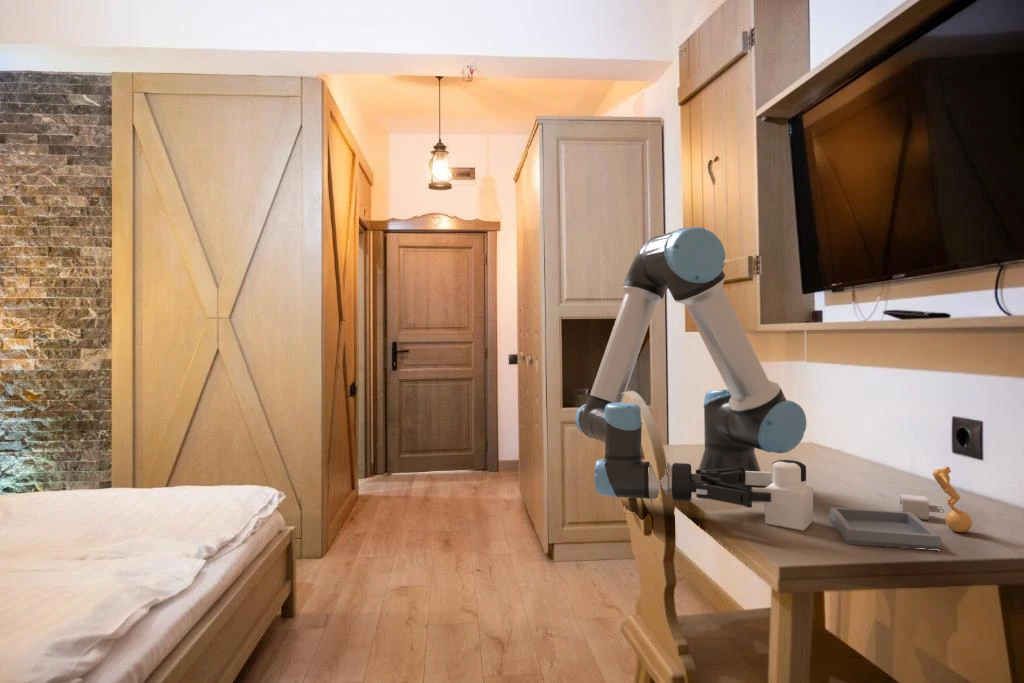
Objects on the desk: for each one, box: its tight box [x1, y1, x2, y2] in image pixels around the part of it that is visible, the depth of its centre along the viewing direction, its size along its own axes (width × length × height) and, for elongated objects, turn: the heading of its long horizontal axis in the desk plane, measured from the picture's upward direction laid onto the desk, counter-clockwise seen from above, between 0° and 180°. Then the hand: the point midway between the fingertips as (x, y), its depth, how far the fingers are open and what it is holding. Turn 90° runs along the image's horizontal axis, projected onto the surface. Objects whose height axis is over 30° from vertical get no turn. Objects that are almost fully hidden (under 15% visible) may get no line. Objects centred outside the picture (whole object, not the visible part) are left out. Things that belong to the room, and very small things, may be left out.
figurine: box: [932, 466, 973, 533], centre depth 111 cm, size 8×6×12 cm
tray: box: [829, 507, 942, 551], centre depth 110 cm, size 14×14×2 cm
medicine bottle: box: [764, 459, 814, 531], centre depth 117 cm, size 7×7×12 cm
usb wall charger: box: [898, 493, 945, 521], centre depth 120 cm, size 4×7×4 cm, turn 65°
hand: (784, 488), depth 117 cm, fingers open, 13 cm apart
